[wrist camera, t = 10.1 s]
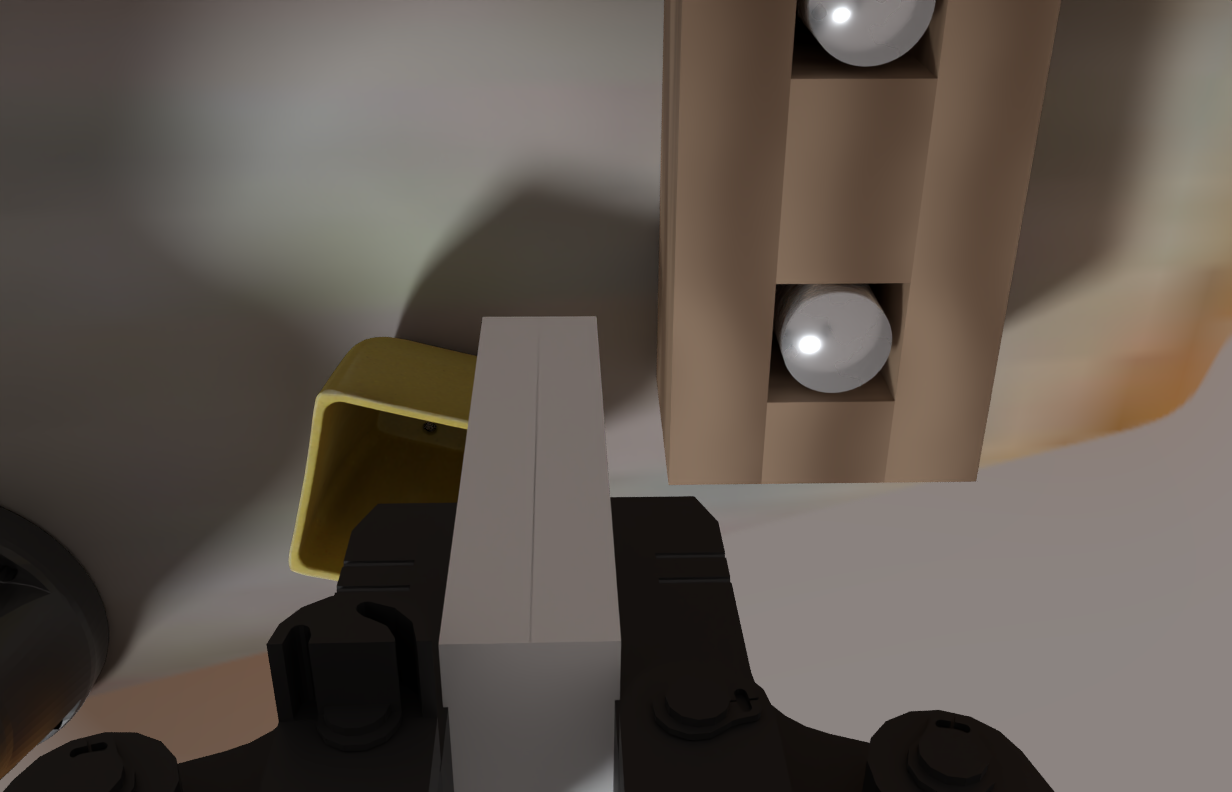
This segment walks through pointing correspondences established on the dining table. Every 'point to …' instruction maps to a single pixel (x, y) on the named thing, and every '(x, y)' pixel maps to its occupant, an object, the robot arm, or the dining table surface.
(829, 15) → the peg
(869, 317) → the peg
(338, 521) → the flower pot
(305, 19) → the dining table surface
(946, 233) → the tan grooved block
